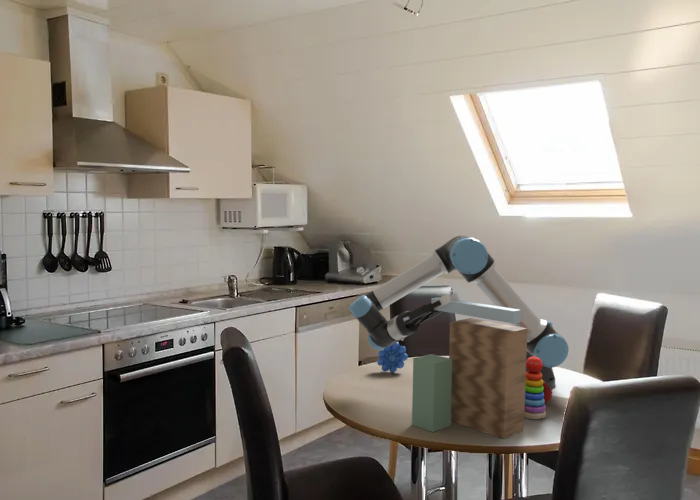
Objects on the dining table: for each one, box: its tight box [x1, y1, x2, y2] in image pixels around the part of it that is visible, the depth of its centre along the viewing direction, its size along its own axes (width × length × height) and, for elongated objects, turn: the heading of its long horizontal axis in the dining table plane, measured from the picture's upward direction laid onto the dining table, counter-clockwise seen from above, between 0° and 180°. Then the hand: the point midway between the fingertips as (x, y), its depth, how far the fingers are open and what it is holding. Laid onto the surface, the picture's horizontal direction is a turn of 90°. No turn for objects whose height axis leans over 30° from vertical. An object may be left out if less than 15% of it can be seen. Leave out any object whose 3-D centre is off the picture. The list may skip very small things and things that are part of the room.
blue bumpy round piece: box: [376, 341, 409, 374], centre depth 247 cm, size 12×7×12 cm, turn 81°
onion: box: [542, 381, 553, 404], centre depth 210 cm, size 6×6×8 cm
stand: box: [448, 317, 527, 439], centre depth 189 cm, size 20×10×30 cm, turn 43°
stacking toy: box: [524, 356, 547, 420], centre depth 198 cm, size 8×8×19 cm
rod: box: [430, 296, 521, 324], centre depth 191 cm, size 30×4×4 cm, turn 43°
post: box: [411, 353, 452, 433], centre depth 189 cm, size 8×8×20 cm
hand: (453, 297), depth 197 cm, fingers closed on rod, 3 cm apart
